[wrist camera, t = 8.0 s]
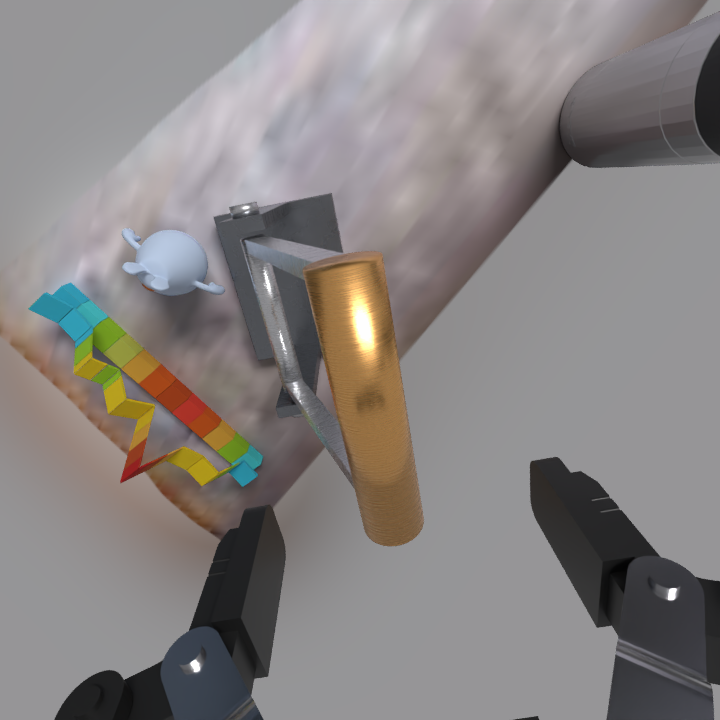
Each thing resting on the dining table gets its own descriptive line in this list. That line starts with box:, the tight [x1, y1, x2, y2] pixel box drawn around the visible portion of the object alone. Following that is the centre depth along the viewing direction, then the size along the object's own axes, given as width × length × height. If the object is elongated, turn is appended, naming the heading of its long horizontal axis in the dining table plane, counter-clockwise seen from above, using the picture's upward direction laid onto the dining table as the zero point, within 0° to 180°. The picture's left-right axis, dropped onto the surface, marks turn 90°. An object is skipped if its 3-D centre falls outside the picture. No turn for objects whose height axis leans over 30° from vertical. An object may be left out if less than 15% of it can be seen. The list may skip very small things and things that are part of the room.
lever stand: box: [214, 193, 343, 418], centre depth 39 cm, size 12×18×16 cm
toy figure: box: [122, 228, 225, 296], centre depth 39 cm, size 11×6×12 cm, turn 55°
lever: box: [240, 234, 424, 546], centre depth 25 cm, size 3×13×20 cm, turn 12°
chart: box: [29, 283, 263, 487], centre depth 44 cm, size 30×3×15 cm, turn 38°
